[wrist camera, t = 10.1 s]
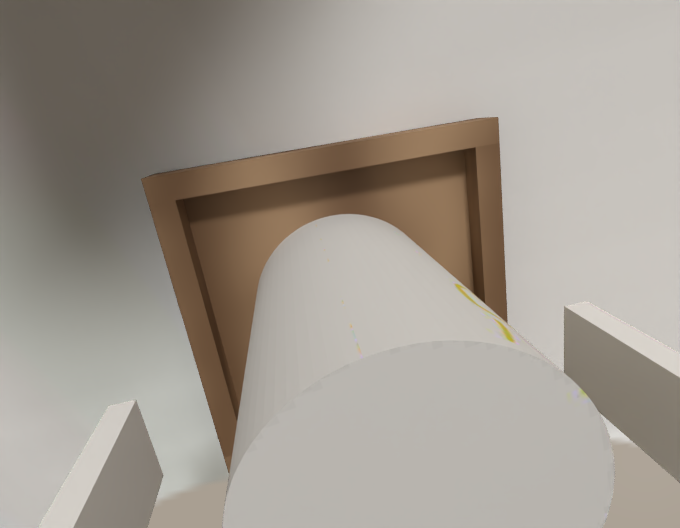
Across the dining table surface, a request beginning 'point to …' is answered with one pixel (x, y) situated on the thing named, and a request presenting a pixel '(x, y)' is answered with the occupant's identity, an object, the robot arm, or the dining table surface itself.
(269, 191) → the tray
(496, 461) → the grey upright rounded piece
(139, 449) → the robot arm
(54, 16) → the dining table surface
